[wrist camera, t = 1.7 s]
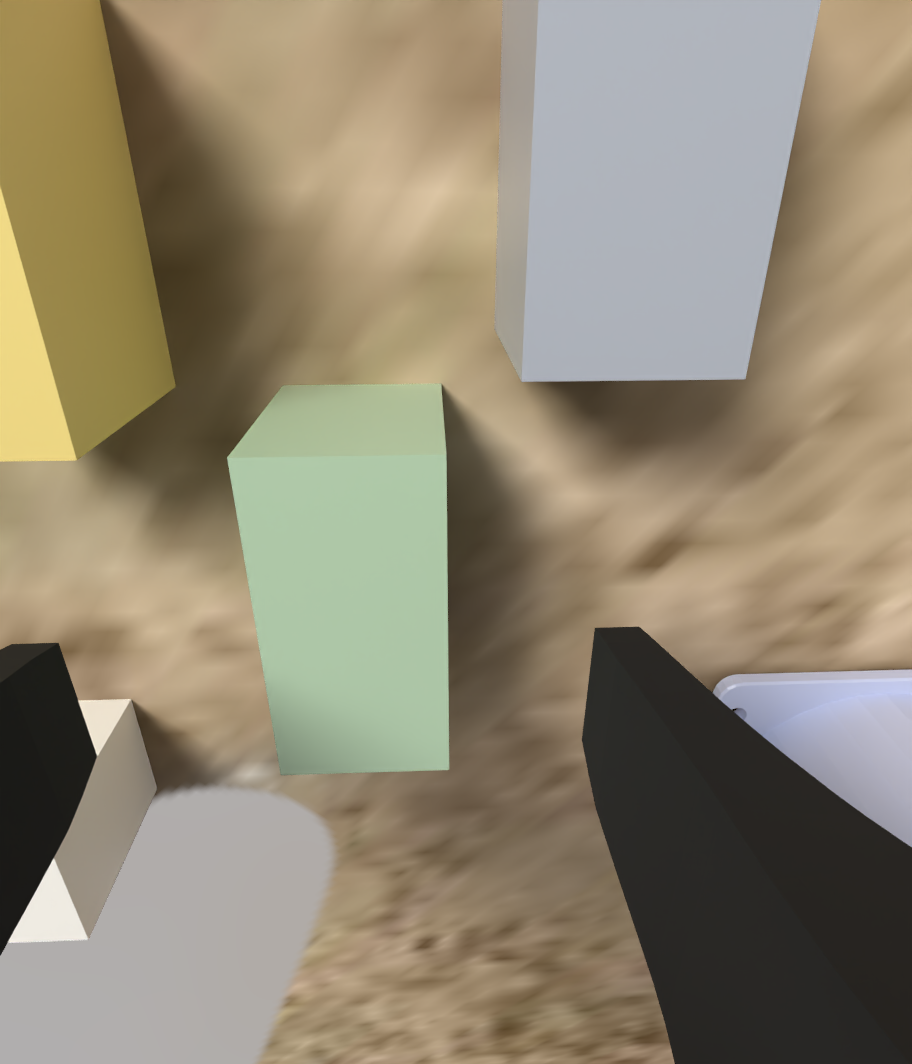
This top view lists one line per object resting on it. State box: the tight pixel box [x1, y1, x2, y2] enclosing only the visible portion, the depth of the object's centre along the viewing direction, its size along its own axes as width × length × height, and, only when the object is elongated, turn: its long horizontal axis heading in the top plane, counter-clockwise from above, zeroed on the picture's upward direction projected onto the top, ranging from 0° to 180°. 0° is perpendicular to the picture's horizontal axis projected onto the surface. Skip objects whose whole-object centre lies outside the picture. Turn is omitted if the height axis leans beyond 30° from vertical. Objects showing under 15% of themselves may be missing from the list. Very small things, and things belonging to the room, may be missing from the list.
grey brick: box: [495, 0, 821, 382], centre depth 9 cm, size 6×3×4 cm, turn 0°
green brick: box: [227, 384, 449, 775], centre depth 12 cm, size 6×3×4 cm, turn 0°
